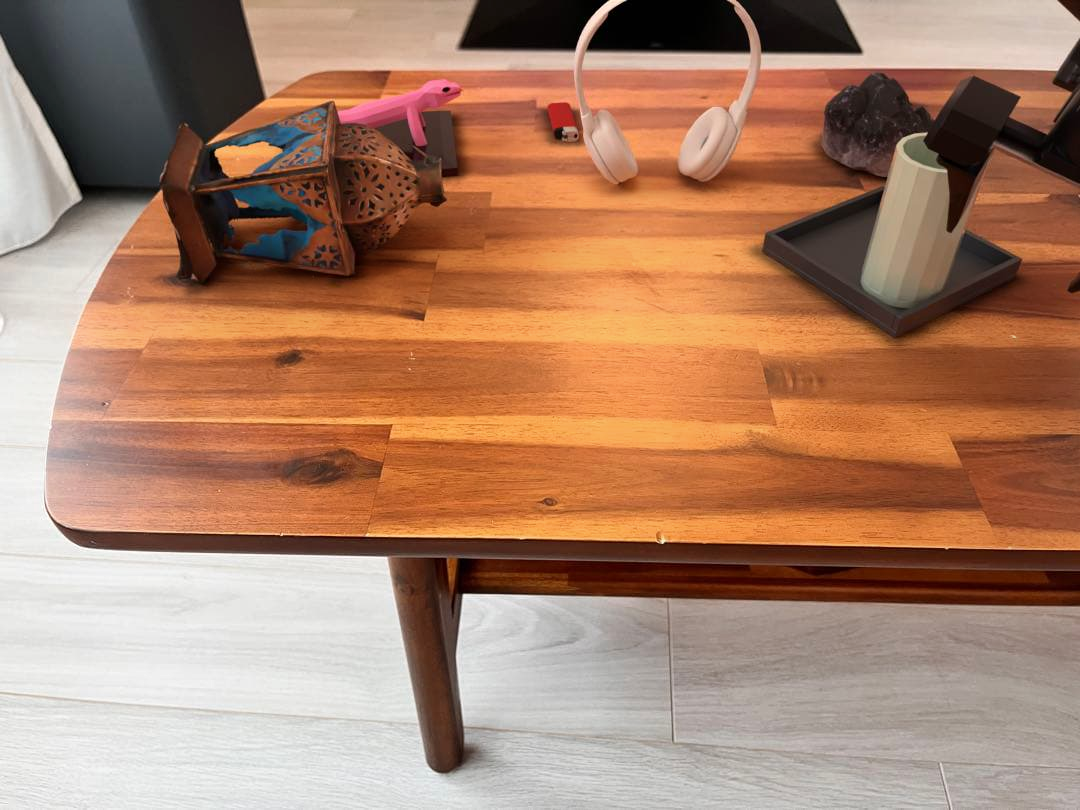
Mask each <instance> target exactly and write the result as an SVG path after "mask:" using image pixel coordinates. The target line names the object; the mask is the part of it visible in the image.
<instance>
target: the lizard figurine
mask: <svg viewBox="0 0 1080 810" xmlns="http://www.w3.org/2000/svg"><path fill="white" fill-rule="evenodd" d="M462 92H464V90H463V89H462V88H461V85H460V84H458V83H457V82H453V81H452V82H451V81H449V80H448V79H446V78H442V79H432V80H429V81H428V82H426V83H424V84H423V85H422V87H420V88H418V89H416V90H413V91H412V90H411V91H409V92H406V93H403V94H399V95H394V96H389V97H384V98H379V99H375V100H370V101H366V102H362V103H360V104H358V105H356V106H354V107H352V108H351V107H350V108H349V109H342V110H337V112H338V116H339V119H340V122H341V124H342V123H343V124H344V123H358V124H364V125H367V126H370V127H372V128H374V129H375V130H377V131H379V132H380V133H381V134H382V135H384V136H385V137H386V138H388V139H389V140H391V141H392V142H393V143H394V144H395V145H397V146H398V147H399V148H400V149H401V150H402V151H403V153H404V154H405V155H406V156H407V157H409V158H410V159H411V161H413V163H415V164H420V163H422V162H423V161H424V158H423V155H422V154H421V153H418V152H417V151H416V149H414V148H413V147H411V146H410V145H408V144H407V143H406V142H408V143H409V144H411V145H413V146H415V147H416V148H418V149H419V150H421V151H422V152H423V153H425V154H426V155H428V156H435V157H438V158H440V159H442V164H441V173H442V177H454V176H459V172H458V171H459V170H458V169H459V168H458V162H457V161H458V160H457V153H456V152H457V151H456V142H455V135H454V127H453V116H452V110H429V111H427V109H440V108H441V107H443V106H444V105H446V104H449V103H450V102H452V101H453V100H455V99H457V98H460V96H461V95H462ZM425 110H426V111H425ZM404 140H405V141H406V142H404Z"/></svg>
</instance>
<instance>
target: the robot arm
mask: <svg viewBox="0 0 1080 810" xmlns="http://www.w3.org/2000/svg"><path fill="white" fill-rule="evenodd" d="M1056 1H1057V2H1058V3H1060V4H1061V6H1063V7H1064V8H1065V9H1066V10H1067V11H1068V12H1069V13H1070V14H1071V15H1072V16H1073V17H1074V18H1075V19H1076V20H1077V21H1078V22H1080V0H1056ZM1051 83H1052V85H1054V86H1056V87H1058V88H1061V89H1063V90H1065V91H1068V92H1070V95H1069V96H1068V97H1067V99H1066V100H1065V102H1064V103H1063V105H1062V106H1061V107H1060V108H1059V110H1058V112H1057V113H1056V115H1055V117H1054V119H1053V121H1052V122H1053V123H1054V124H1053V125H1052V127H1051V128H1050V130H1049V131H1048V133H1045V132H1043V131H1040V130H1039V129H1036V128H1034V127H1032V126H1030V125H1027V124H1025V123H1024V122H1021V121H1019V120H1017V119H1014V118H1012V117H1010V116H1011V115H1012V113H1013V111H1014V109H1015V108H1016V106H1017V105H1018V103H1019V101H1020V100H1021V98H1022V96H1020V95H1018V94H1016V93H1014V92H1012V91H1009V90H1007V89H1006V88H1005V89H1004V88H1003V87H1001V86H998V85H996V84H994V83H992V82H989V81H987V80H985V79H983V78H980V77H978V76H976V75H971V76H969V77H967V78H964V79H961V80H960V81H959V82H958V84H957V86H956V87H955V88H954V90H953V91H952V93H951V94H950V96H949V97H948V99H947V100H946V102H945V103H944V105H943V106H942V107H941V109H940V111H939V113H937V116H936V118H935V119H934V122H933V124H932V126H931V128H930V129H929V131H928V133H927V135H926V137H925V138H924V140H923V142H924V143H925V145H926V147H927V148H928V149H929V150H931V151H933V152H935V153H938V155H937V157H936V161H937V163H938V164H939V165H940V166H942V167H944V168H946V169H947V175H948V185H949V208H948V218H947V228H946V231H947V232H949V233H952V232H953V230H954V229H955V227H956V226H957V224H958V223H959V221H960V219H961V218H962V216H963V214H964V213H965V211H966V209H967V207H968V205H969V203H970V201H971V198H972V196H973V194H974V192H975V190H976V188H977V186H978V183H979V181H980V179H981V177H982V175H983V173H984V171H985V168H986V166H987V164H988V162H989V160H990V161H991V158H992V156H993V154H994V153H995V150H996V151H998V152H1000V153H1002V154H1004V155H1007V156H1009V157H1011V158H1013V159H1016V160H1017V161H1019V162H1021V163H1023V164H1026V165H1028V166H1030V167H1033V168H1034V169H1037V170H1038V171H1041V172H1043V173H1045V174H1046V175H1047V174H1048V175H1049V176H1052V177H1054V178H1055V179H1058V180H1060V181H1062V182H1064V183H1067V184H1069V185H1071V186H1073V187H1075V188H1078V189H1079V190H1080V37H1079V38H1078V40H1077V41H1076V43H1075V44H1074V46H1073V47H1072V49H1071V50H1070V51H1069V53H1068V54H1067V56H1066V58H1065V59H1064V60H1063V62H1062V64H1061V65H1060V67H1059V68H1058V70H1057V71H1056V73H1055V75H1054V77H1053V78H1052V81H1051ZM989 163H990V162H989ZM1066 291H1067V292H1068V293H1070V294H1075V293H1078V292H1080V271H1079V272H1078V273H1077V274H1076V276H1074V278H1073V279H1072V280H1071V281H1070V283H1069V285H1068V288H1067V289H1066Z"/></svg>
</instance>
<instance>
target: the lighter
mask: <svg viewBox="0 0 1080 810" xmlns="http://www.w3.org/2000/svg"><path fill="white" fill-rule="evenodd" d="M546 108H547V113H548V117H549V120H550V125H551V129H552V132H553V136H554V138H555V139H556V140H562V141H563V142H565V143H571V142H573V143H574V142H577V141H578V140H579V137H580V135H579V134H580V133H579V130H578V128H577V124H576V121H575V118H574V114H573V111H572V108H571V104H570V103H569V102H567V101H565V102H563V101H562V102H551V103H549V104H547V107H546Z"/></svg>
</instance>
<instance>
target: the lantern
mask: <svg viewBox="0 0 1080 810" xmlns="http://www.w3.org/2000/svg"><path fill="white" fill-rule="evenodd" d="M337 109H338V108H337V106H336V103H335V101H334V100H329V101H327V102H323V103H321V104H317V105H315V106H312V107H310V108H306V109H304V110H301V111H298V112H297V111H296V112H295V113H292V114H289V115H285V116H283V117H281V118H277V119H275V120H272V121H269V122H267V123H264V124H261V125H258V126H256V127H253V128H250V129H247V130H244V131H241V132H239V133H235V134H233V135H230V136H227V137H225V138H222V139H219V140H217V141H215V142H210V143H208V144H207V143H206V144H205V143H204V141H203V140H202V139H203V138H201V137H200V136H199V135H198V134H197V133H196V132H194V131H193V129H191V128H190V127H189V124H187V123H185V122H184V121H182V122H181V123H180V125H179V127H178V131H177V134H176V136H175V141H174V143H173V146H172V148H171V150H170V153H169V154H168V157H167V160H166V162H165V164H164V167H163V171H162V173H161V174H160V176H159V187H160V190H161V192H162V202H163V205H164V208H165V210H166V212H167V214H168V217H169V219H170V221H171V224H172V226H173V229H174V233H175V238H176V243H177V248H178V252H179V256H180V257H179V258H180V259H179V268H178V271H177V273H176V278H177V279H178V280H179V281H181V280H183V279H184V280H185V279H186V280H187V279H188V280H195V281H197V284H198V285H202V284H204V283H205V282H206V280H207V278H208V277H209V275H210V274H211V273H212V272H213V271H214V269H215V267H216V266H217V264H218V260H219V259H222V258H223V259H227V260H231V261H239V262H243V263H253V264H259V265H267V266H273V267H279V268H287V269H297V270H304V271H306V272H307V271H310V272H318V273H325V274H332V275H336V276H337V275H339V276H343V277H351V276H354V275H355V263H356V260H355V258H356V253H357V252H366V251H367V252H368V251H373V250H376V249H378V248H379V247H381V246H383V245H384V244H386V243H387V242H388V241H390V240H391V239H392V238H393V237H394V236H396V235H397V234H398V232H399V231H400V230H401V229H402V228H403V227H404V225H405V224H406V222H407V221H408V220H409V218H410V217H411V216H412V214H413V213H414V212H415V211H416V209H417V208H418V207H419V206H420V205H421V204H429V205H431V206H432V207H435V208H436V207H437V208H438V207H439V206H441V205H442V204H444V203H445V202H447V200H448V199H447V197H446V196H444V195H445V188H444V187H445V186H444V183H443V176H442V173H441V164H442V159H440V158H438V157H435V156H428V155H426V154H425V153H423V152H422V151H421V150H419V149H418V148H416V147H415V146H413V145H411V144H409V143H408V142H406V141H405V140H404V142H406V143H407V144H408V145H410V146H411V147H413V148H414V149H416V151H417V152H418V153H421V154H422V155H423V158H424V161H423V162H422V163H420V164H415V163H413V161H411V159H410V158H409V157H407V156H406V155H405V154H404V153H403V151H402V150H401V149H400V148H399V147H398V146H397V145H395V144H394V143H393V142H392V141H391V140H389V139H388V138H386V137H385V136H384V135H382V134H381V133H380V132H379V131H377V130H375V129H374V128H372V127H370V126H367V125H364V124H358V123H344V124H343V123H342V124H341V122H340V119H339V116H338V112H337V111H338V110H337ZM259 143H268V144H267V145H268V146H269V147H275V148H278V149H280V150H282V152H281V153H279V154H277V155H275V156H274V157H272V158H271V159H270V160H269V161H267V162H264V163H262V164H261V165H259V166H258V167H256V168H255V169H254V170H253V171H252V173H249V174H244V175H239V176H234V177H230V176H229V175H227V173H225V172H224V171H223V166H222V164H220V161H219V157H218V156H216V151H217V150H219V149H222V148H225V147H227V146H228V147H229V148H230V147H233V146H235V147H238V148H242V147H248V146H250V145H254V144H259ZM237 201H238V202H239V203H245V204H247V205H248V206H247V207H243V206H242V207H241V206H239V205H238V202H237ZM280 218H282V219H285V218H286V219H287V218H292V219H293V220H296V221H299V222H301V223H303V225H304V226H307V230H295V231H293V230H290V229H284V228H282V229H279V230H277V232H276V233H274V234H272V235H271V234H268V233H265V232H264V233H263V234H262V235H258V236H257V237H256V238H257V241H258V243H255V242H247V243H245V244H244V245H243V246H242V249H241V250H239V251H236V250H235V248H234V247H232V246H231V245H229V246H228V247H227V249H224V248H223V246H224V244H225V237H226V238H227V241H230V242H232V243H234V242H235V240H234V236H235V234H236V233H235V229H236V228H235V227H234V226H233V225H232V224H230V222H231V221H233V220H234V221H239V220H248V219H251V220H253V219H260V220H261V219H280Z"/></svg>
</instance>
